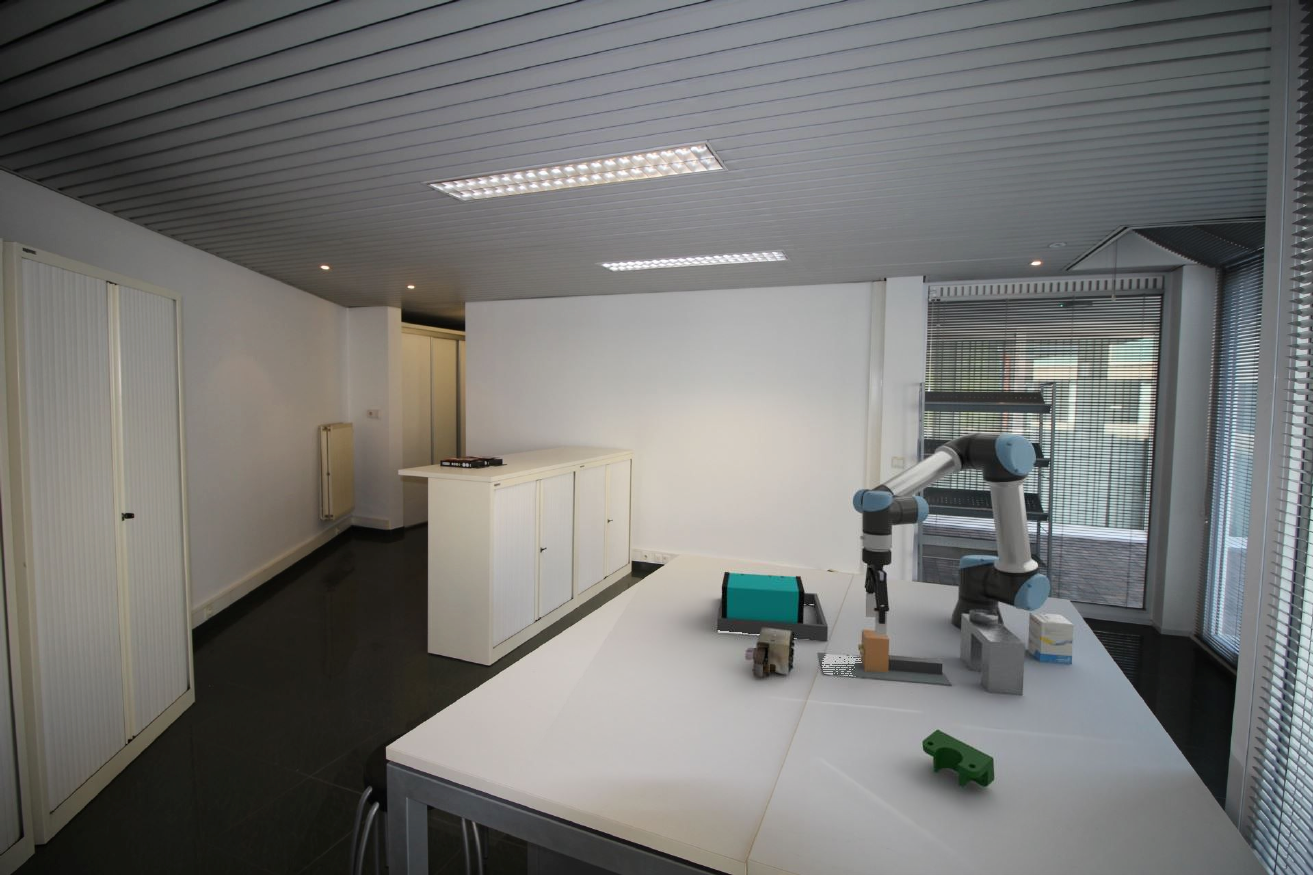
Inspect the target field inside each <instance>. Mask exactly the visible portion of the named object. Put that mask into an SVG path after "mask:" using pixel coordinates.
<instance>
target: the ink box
mask: <svg viewBox="0 0 1313 875" xmlns="http://www.w3.org/2000/svg"><path fill="white" fill-rule="evenodd" d="M1028 617H1029V620H1028V641H1027V650H1028V651H1029V653H1030V654H1031V655H1032V656H1033V657H1034V658H1036V659H1037V660H1038V661H1039V662H1040V663H1048V662H1050V663H1051V664H1062V665H1072V664H1073V644H1074V642H1073V641H1074V624H1073V623H1072V622H1070V621H1069V620H1068V619H1067V618H1065V617H1064V616H1062V615H1061V614H1053V613H1044V612H1043V613H1042V612H1029V616H1028ZM1050 663H1049V664H1050Z"/></svg>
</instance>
